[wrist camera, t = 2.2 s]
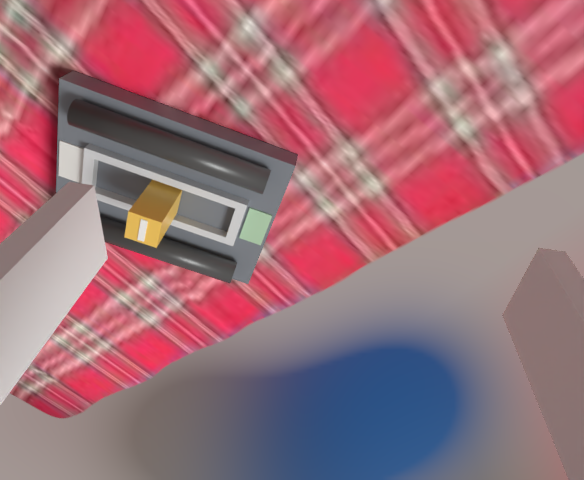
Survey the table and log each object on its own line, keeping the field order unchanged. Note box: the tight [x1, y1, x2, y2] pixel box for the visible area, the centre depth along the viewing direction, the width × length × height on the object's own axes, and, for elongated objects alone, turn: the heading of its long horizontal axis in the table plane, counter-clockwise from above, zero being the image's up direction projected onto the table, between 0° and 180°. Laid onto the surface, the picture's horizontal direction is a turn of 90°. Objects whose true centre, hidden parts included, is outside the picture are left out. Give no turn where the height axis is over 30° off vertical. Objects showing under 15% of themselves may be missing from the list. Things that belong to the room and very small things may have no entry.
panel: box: [56, 71, 298, 284], centre depth 44 cm, size 22×16×5 cm
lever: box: [124, 180, 182, 248], centre depth 41 cm, size 3×3×6 cm
